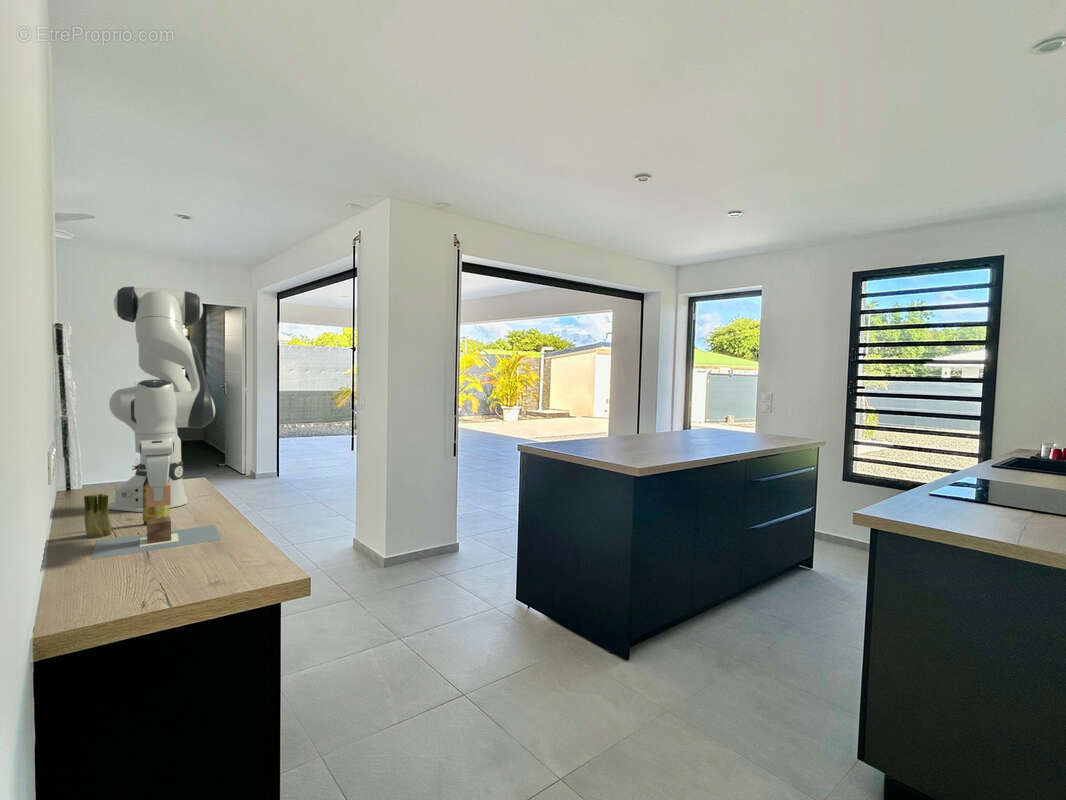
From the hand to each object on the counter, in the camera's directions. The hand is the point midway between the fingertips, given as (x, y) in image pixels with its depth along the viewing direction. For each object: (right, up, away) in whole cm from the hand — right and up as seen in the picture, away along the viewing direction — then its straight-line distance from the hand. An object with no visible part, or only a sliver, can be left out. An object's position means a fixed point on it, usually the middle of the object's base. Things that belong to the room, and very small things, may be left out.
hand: (158, 498), depth 137 cm
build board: (0, -12, +1) cm, 12 cm away
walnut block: (0, -11, +1) cm, 11 cm away
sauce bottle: (-12, -11, +17) cm, 24 cm away
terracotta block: (0, -2, 0) cm, 2 cm away
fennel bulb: (-19, -12, +5) cm, 23 cm away
